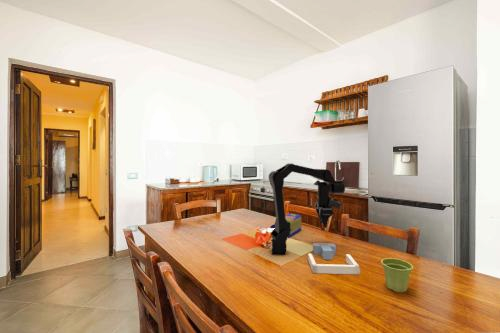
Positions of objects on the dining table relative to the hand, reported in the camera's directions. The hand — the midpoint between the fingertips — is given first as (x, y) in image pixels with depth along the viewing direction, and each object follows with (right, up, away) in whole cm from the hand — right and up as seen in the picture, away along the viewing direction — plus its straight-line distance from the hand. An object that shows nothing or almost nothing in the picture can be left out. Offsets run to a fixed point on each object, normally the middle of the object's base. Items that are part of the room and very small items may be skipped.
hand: (323, 224), depth 122 cm
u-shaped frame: (-2, -13, -21) cm, 24 cm away
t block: (-1, -12, -9) cm, 15 cm away
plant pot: (+14, -13, -38) cm, 43 cm away
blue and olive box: (-14, -12, +26) cm, 32 cm away
